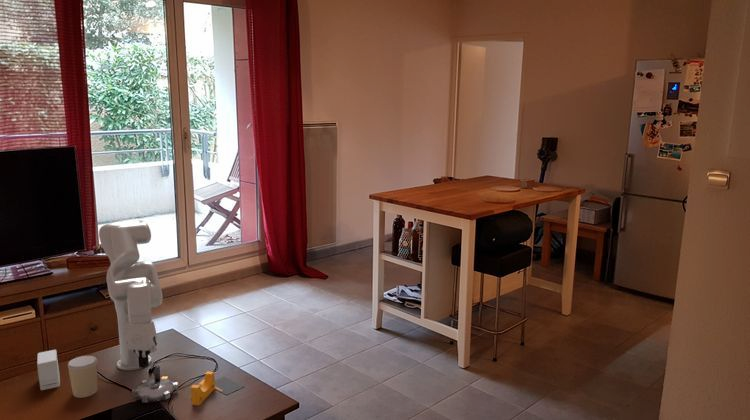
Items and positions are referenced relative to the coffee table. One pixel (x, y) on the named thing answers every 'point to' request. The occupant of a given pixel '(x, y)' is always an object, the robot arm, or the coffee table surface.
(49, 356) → the skincare box
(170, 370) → the coffee table surface
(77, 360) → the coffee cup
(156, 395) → the sprocket
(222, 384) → the mat
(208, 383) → the pipe clamp
